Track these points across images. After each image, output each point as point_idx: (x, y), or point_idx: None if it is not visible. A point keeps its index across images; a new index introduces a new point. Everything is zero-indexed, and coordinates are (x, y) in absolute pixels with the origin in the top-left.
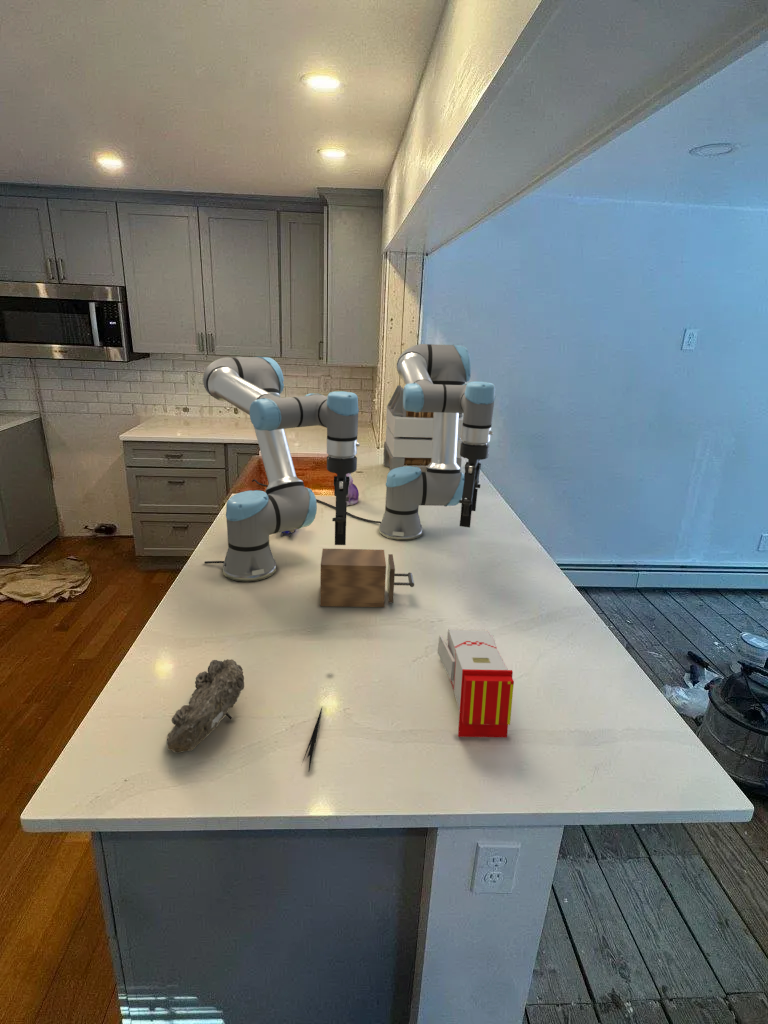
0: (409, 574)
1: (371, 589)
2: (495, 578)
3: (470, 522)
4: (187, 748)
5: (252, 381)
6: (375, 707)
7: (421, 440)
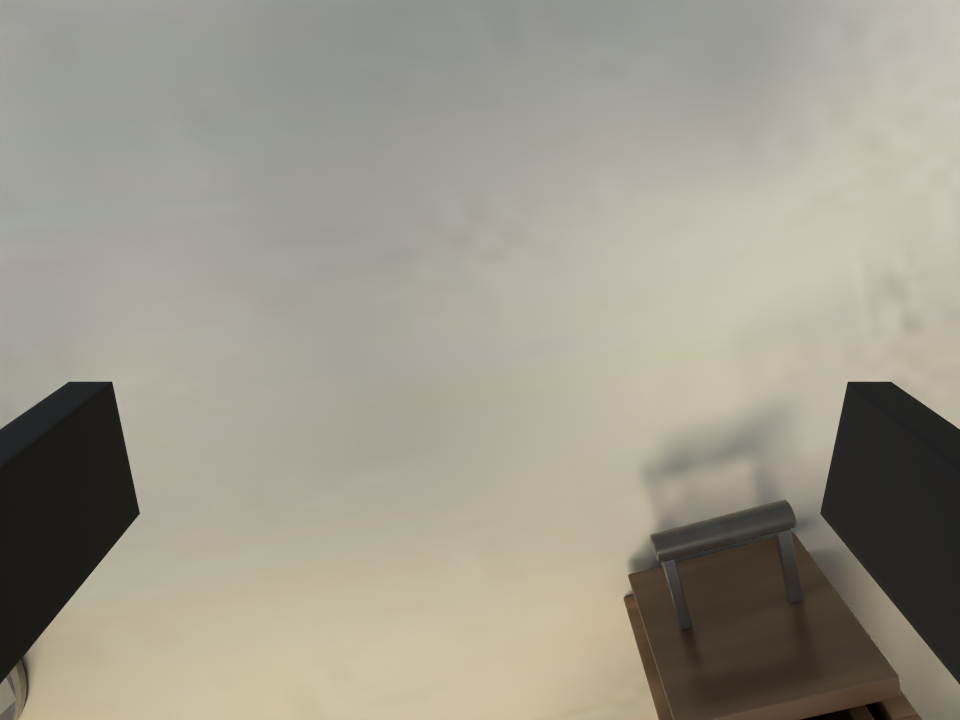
0: (685, 552)
1: None
2: (259, 17)
3: (889, 410)
4: None
5: None
6: None
7: None
